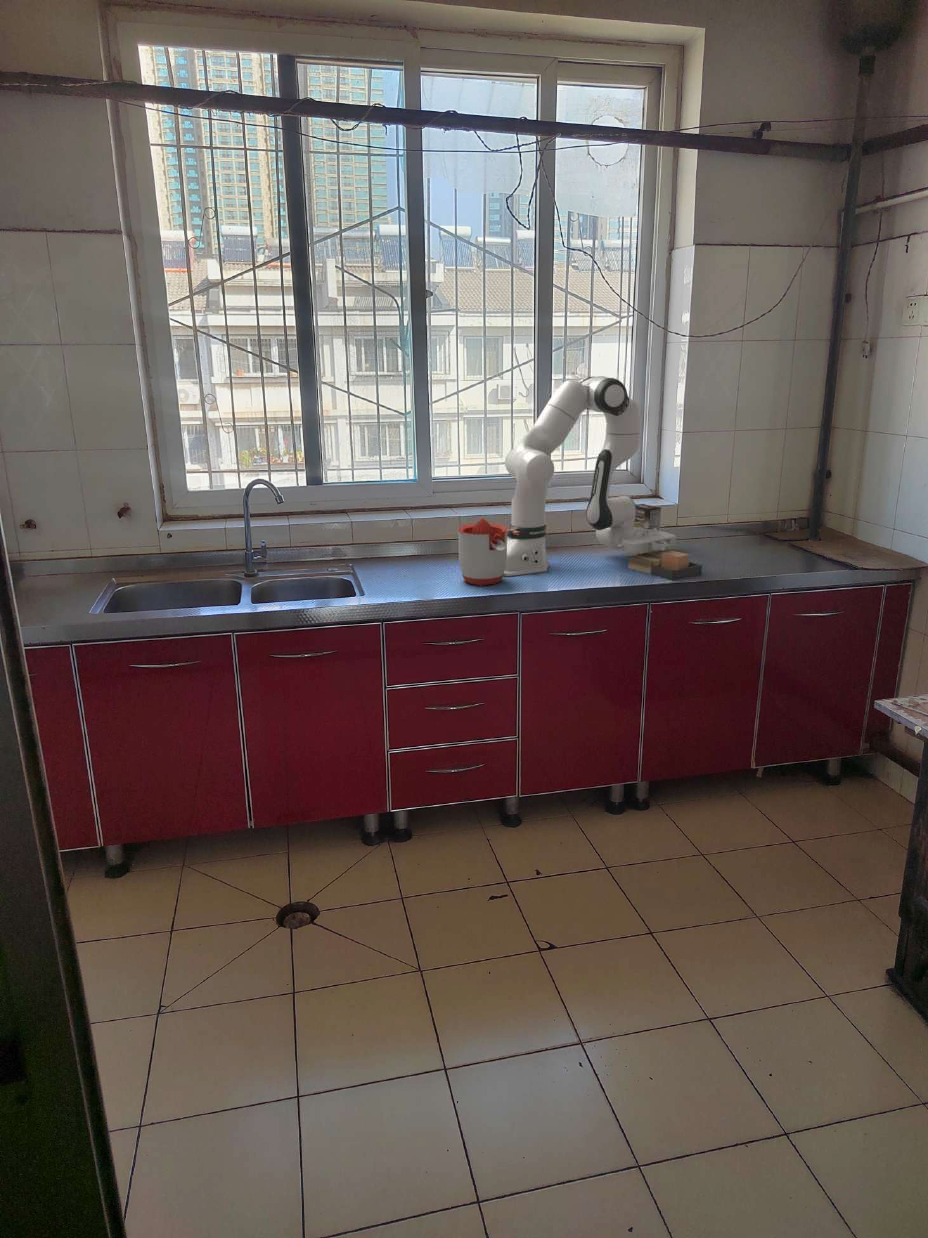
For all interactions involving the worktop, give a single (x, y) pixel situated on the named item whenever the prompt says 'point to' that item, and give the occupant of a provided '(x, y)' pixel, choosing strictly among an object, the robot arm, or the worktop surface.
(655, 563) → the tan flat box
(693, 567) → the tray
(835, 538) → the worktop surface
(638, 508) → the coffee box
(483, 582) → the citrus juicer
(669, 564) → the tile block
